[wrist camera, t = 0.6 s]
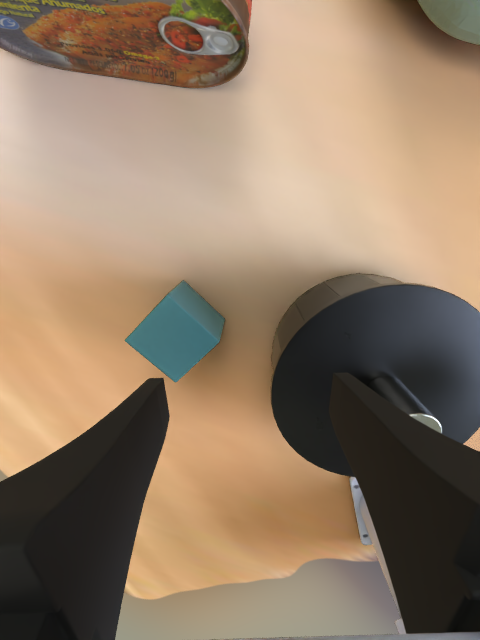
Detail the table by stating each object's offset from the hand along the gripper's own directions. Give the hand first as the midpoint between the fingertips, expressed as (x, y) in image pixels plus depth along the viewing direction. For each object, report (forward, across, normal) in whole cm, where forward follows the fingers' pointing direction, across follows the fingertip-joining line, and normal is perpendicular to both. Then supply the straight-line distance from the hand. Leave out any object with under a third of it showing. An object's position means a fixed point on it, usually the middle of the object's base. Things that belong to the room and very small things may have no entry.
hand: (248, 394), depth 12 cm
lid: (+5, -8, +4) cm, 10 cm away
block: (+11, +4, +1) cm, 12 cm away
